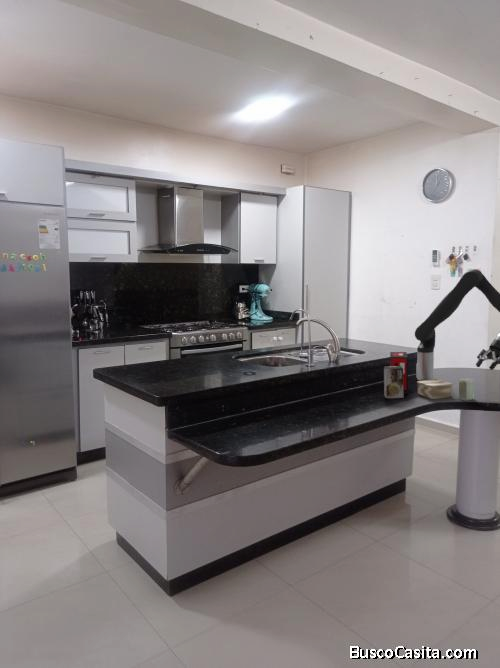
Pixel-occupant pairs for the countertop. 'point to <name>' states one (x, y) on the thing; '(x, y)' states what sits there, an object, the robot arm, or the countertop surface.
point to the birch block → (434, 388)
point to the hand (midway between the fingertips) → (483, 367)
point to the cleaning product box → (402, 361)
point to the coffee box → (393, 382)
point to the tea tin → (466, 389)
